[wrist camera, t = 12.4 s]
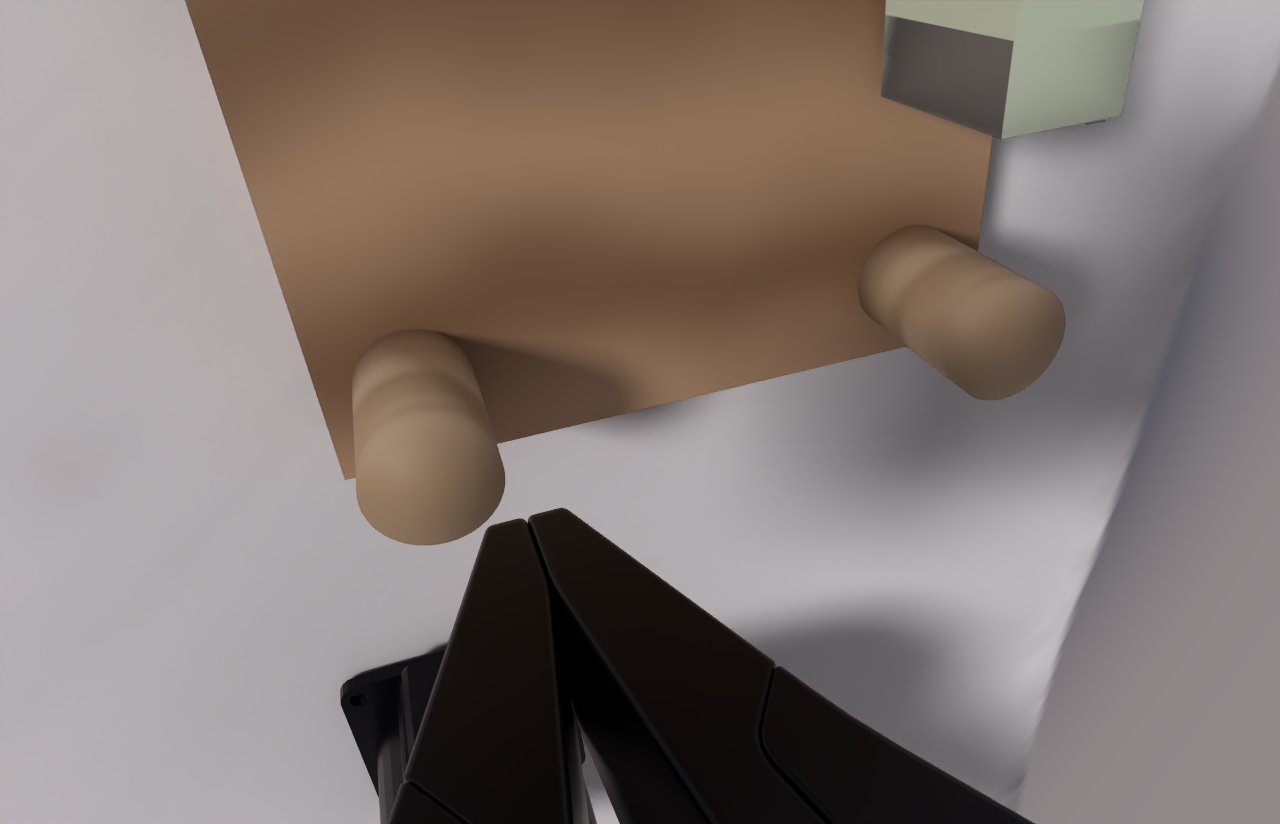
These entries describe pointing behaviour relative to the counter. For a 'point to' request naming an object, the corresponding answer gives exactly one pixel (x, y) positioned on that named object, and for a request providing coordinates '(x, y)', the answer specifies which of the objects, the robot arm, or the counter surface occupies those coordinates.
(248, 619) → the counter surface
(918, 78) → the hinged leg
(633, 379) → the stool seat
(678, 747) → the robot arm
